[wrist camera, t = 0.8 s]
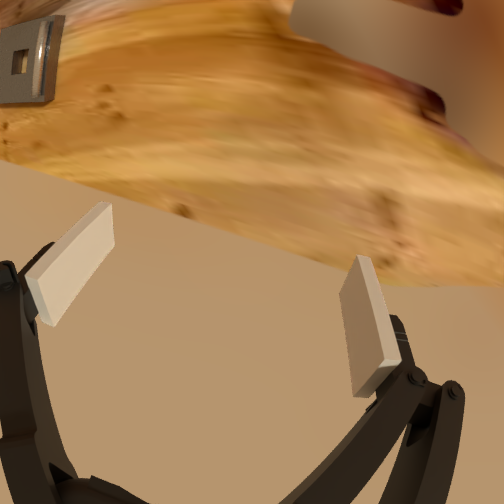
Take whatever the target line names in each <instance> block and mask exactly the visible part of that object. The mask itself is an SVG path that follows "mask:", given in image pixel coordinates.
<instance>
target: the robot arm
mask: <svg viewBox="0 0 504 504" xmlns="http://www.w3.org/2000/svg"><path fill="white" fill-rule="evenodd" d="M114 246H115V244H114V232H113V218H112V204H111V203H107V202H102V201H100V202H99V203H97V204H96V205H95V206H94V207H93V208H92V209H91V210H90V211H89V212H87V213H86V214H85V215H84V216H83V217H82V218H81V219H80V220H79V221H78V222H76V224H74V225H73V226H72V227H71V228H70V229H69V230H68V231H67V232H66V233H65V234H64V235H63V236H62V237H61V238H60V239H59V240H58V241H57V242H56V243H55V242H51V243H49V244H47V245H46V246H44V247H43V248H42V249H41V250H40V251H39V252H38V253H37V254H36V255H35V256H34V257H33V259H31V260H30V261H29V262H28V263H27V265H26V266H24V267H23V269H22V270H21V271H20V272H19V273H18V274H17V271H16V268H15V265H14V263H13V262H12V261H8V260H6V261H1V262H0V421H1V427H2V434H3V436H2V438H1V439H0V458H1V462H2V466H3V470H4V473H5V477H6V480H7V484H8V487H9V490H10V493H11V496H12V499H13V502H14V504H149V503H147V502H145V501H143V500H141V499H140V498H138V497H136V496H134V495H132V494H131V493H129V492H128V491H126V490H124V489H123V488H121V487H120V486H117V485H115V484H111V483H109V482H107V481H104V480H102V479H99V478H97V477H95V476H92V475H91V478H90V479H87V478H86V479H85V478H78V476H77V473H76V471H75V469H74V467H73V465H72V464H71V462H70V461H69V459H68V457H67V455H66V453H65V450H64V447H63V444H62V441H61V438H60V435H59V432H58V428H57V425H56V422H55V418H54V415H53V411H52V407H51V403H50V399H49V394H48V390H47V385H46V381H45V376H44V371H43V366H42V360H41V354H40V347H39V340H38V333H37V324H36V321H35V317H36V316H37V314H38V313H39V316H40V318H41V321H42V322H43V323H45V324H48V325H50V326H52V327H55V326H56V324H57V323H58V321H59V320H60V318H61V317H62V315H63V314H64V312H65V311H66V310H67V308H68V307H69V305H70V304H71V302H72V301H73V299H74V298H75V297H76V295H77V294H78V293H79V291H80V290H81V289H82V287H83V286H84V285H85V283H86V282H87V280H88V279H89V278H90V277H91V275H92V274H93V273H94V271H95V270H96V269H97V267H98V266H99V265H100V264H101V262H102V261H103V260H104V258H105V257H106V256H107V255H108V253H109V252H110V251H111V250H112V248H113V247H114ZM339 296H340V302H341V309H342V314H343V320H344V328H345V335H346V342H347V349H348V357H349V365H350V373H351V382H352V391H353V397H363V398H369V397H370V396H371V395H372V394H373V393H374V392H375V391H376V397H377V399H376V400H375V401H374V402H373V403H372V404H371V405H370V406H369V407H368V408H367V409H366V412H365V413H364V415H363V416H362V417H361V419H360V420H359V421H358V422H357V423H356V424H355V426H354V427H353V428H352V429H351V430H350V432H349V433H348V434H347V435H346V436H345V437H344V439H343V440H342V441H341V442H340V443H339V444H338V446H337V447H336V448H335V449H334V450H333V451H332V452H331V453H330V454H329V455H328V456H327V458H326V459H325V460H324V461H323V462H322V463H321V464H320V465H319V466H318V467H317V468H316V469H315V470H314V471H313V472H312V473H311V474H310V475H309V476H308V477H307V478H306V479H305V480H304V481H303V482H302V483H301V484H300V485H299V486H298V487H297V488H295V489H294V490H293V491H292V492H291V493H290V494H289V495H288V496H287V497H286V498H284V499H283V500H282V501H281V502H280V503H279V504H350V503H351V502H352V501H353V500H354V498H355V497H356V496H357V495H358V494H359V492H360V491H361V490H362V489H363V487H364V486H365V485H366V484H367V482H368V481H369V480H370V478H371V477H372V476H373V474H374V473H375V472H376V470H377V469H378V468H379V466H380V465H381V463H382V462H383V461H384V459H385V458H386V456H387V455H388V453H389V452H390V450H391V449H392V447H393V446H394V444H395V443H396V441H397V440H398V438H399V436H400V435H401V433H402V432H403V430H404V428H405V427H406V425H407V427H406V431H405V434H404V437H403V440H402V443H401V447H400V450H399V452H398V455H397V459H396V461H395V464H394V467H393V469H392V472H391V475H390V477H389V480H388V482H387V485H386V487H385V490H384V492H383V494H382V497H381V499H380V501H379V504H445V503H446V500H447V496H448V493H449V489H450V485H451V481H452V477H453V473H454V468H455V463H456V459H457V454H458V448H459V442H460V436H461V430H462V422H463V414H464V405H465V393H464V390H463V388H462V387H461V386H460V384H458V383H457V382H456V381H452V380H450V381H446V382H445V383H444V384H443V385H442V386H440V385H437V384H435V383H432V382H430V381H428V378H427V376H426V374H425V373H424V372H423V371H422V370H421V369H420V368H418V367H416V366H415V362H414V359H413V356H412V352H411V348H410V345H409V342H408V338H407V335H406V332H405V329H404V326H403V323H402V322H401V321H400V319H399V318H398V317H397V316H396V315H390V314H389V313H388V310H387V307H386V303H385V300H384V297H383V294H382V291H381V288H380V285H379V282H378V279H377V276H376V273H375V270H374V267H373V264H372V262H371V259H370V257H366V256H362V255H358V254H357V255H356V258H355V260H354V262H353V264H352V267H351V269H350V271H349V273H348V276H347V278H346V280H345V282H344V284H343V287H342V289H341V291H340V293H339ZM407 423H408V424H407Z"/></svg>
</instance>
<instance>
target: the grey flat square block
mask: <svg viewBox="0 0 504 504" xmlns="http://www.w3.org/2000/svg"><path fill="white" fill-rule="evenodd" d="M64 20H65V16H63V15H52V16H48V17H43V18H39V19H35V20H31V21H27V22H24V23H20V24H17V25H13V26H10V27H7V28H4V29H1V35H0V104H1V103H19V102H46V101H49V100H53V99H54V94H55V82H56V72H57V63H58V56H59V49H60V42H61V36H62V31H63V25H64ZM27 49H29V53H28V61H27V70H26V73H21V68H22V58H23V51H24V50H27Z"/></svg>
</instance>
